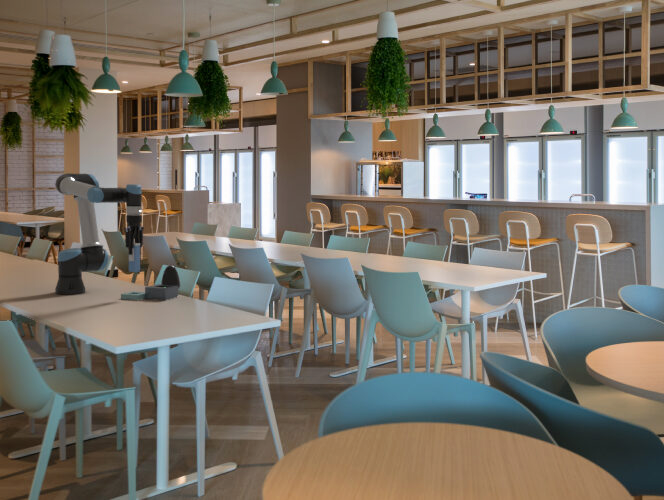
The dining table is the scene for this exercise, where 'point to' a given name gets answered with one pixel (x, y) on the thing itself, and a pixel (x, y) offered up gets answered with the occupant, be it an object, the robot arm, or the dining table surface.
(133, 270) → the plug
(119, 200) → the robot arm
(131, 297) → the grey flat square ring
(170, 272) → the black egg shape
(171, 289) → the port
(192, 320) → the dining table surface
